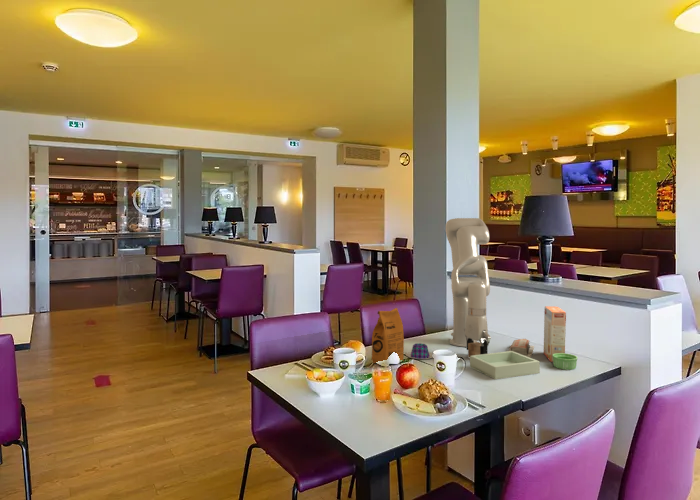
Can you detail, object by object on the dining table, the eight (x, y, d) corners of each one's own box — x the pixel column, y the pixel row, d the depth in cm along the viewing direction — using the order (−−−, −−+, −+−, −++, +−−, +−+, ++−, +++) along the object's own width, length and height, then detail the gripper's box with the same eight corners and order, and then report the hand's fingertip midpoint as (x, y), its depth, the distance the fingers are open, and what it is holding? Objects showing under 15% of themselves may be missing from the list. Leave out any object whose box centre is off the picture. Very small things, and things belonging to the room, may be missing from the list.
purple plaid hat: (434, 353, 208) (434, 341, 207) (434, 361, 196) (434, 348, 195) (406, 352, 210) (406, 340, 209) (405, 360, 198) (405, 347, 198)
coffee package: (368, 362, 193) (367, 309, 192) (390, 357, 201) (390, 306, 200) (384, 368, 186) (384, 313, 184) (407, 362, 193) (407, 309, 192)
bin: (470, 366, 187) (470, 355, 186) (511, 361, 193) (511, 350, 193) (495, 379, 172) (495, 367, 171) (539, 373, 178) (539, 361, 178)
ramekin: (582, 368, 185) (582, 357, 184) (567, 371, 180) (568, 360, 180) (561, 362, 192) (561, 351, 192) (547, 365, 188) (547, 355, 188)
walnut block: (468, 357, 201) (468, 343, 201) (478, 355, 203) (478, 342, 202) (475, 360, 196) (475, 345, 196) (485, 358, 198) (485, 344, 198)
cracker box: (565, 363, 191) (566, 312, 190) (550, 362, 192) (550, 311, 191) (557, 353, 205) (558, 306, 203) (543, 353, 206) (543, 305, 205)
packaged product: (531, 348, 198) (506, 345, 202) (531, 359, 198) (506, 356, 202) (534, 338, 214) (511, 336, 218) (534, 349, 214) (511, 346, 218)
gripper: (457, 309, 205) (457, 348, 206) (481, 316, 189) (481, 358, 190) (472, 308, 208) (472, 346, 208) (497, 314, 191) (497, 356, 192)
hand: (476, 352), depth 199 cm, fingers open, 9 cm apart
